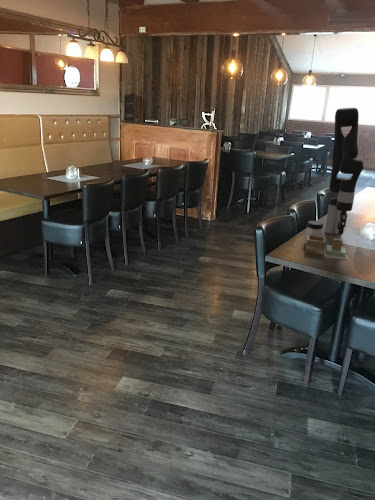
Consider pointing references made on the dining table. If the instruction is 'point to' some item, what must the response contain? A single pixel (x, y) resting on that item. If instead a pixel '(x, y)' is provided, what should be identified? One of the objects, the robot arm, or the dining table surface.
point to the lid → (336, 247)
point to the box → (315, 245)
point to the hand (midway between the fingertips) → (339, 231)
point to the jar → (314, 229)
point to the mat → (344, 256)
